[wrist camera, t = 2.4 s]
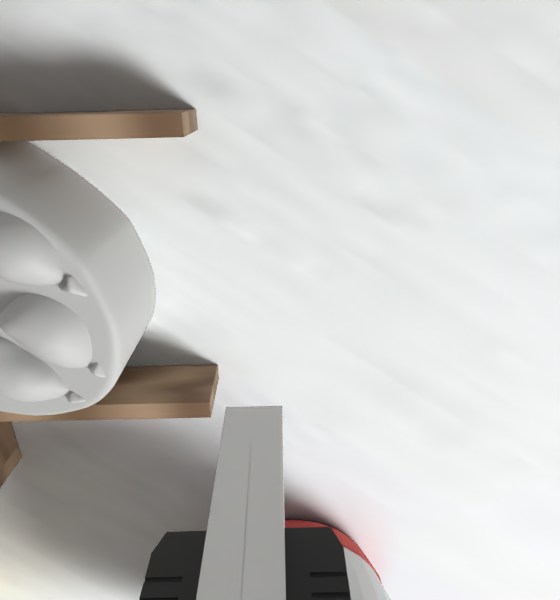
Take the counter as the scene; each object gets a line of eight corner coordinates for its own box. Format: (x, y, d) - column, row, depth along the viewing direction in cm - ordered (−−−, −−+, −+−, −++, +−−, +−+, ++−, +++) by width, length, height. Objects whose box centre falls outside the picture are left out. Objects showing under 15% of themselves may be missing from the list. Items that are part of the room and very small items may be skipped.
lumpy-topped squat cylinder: (-6, 107, 25) (-140, 116, 17) (197, 267, 28) (166, 337, 20) (-96, 253, 28) (-245, 320, 20) (98, 382, 31) (36, 482, 23)
